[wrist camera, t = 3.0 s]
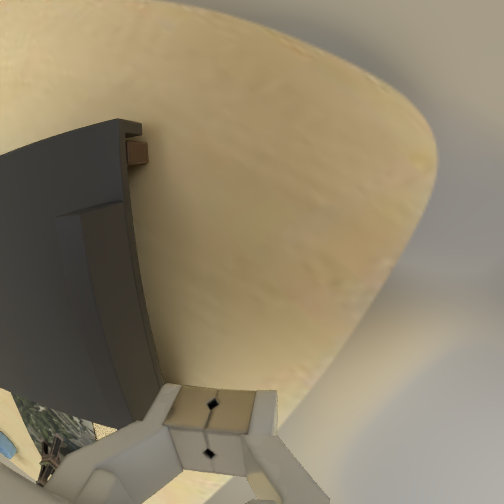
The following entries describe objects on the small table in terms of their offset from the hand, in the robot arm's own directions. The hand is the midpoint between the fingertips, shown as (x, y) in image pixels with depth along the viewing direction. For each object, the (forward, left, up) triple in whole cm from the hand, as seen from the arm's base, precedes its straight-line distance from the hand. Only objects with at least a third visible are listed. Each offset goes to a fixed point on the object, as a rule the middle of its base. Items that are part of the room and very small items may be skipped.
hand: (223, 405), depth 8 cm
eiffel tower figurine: (+20, +18, -8) cm, 28 cm away
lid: (+13, 0, -8) cm, 15 cm away
